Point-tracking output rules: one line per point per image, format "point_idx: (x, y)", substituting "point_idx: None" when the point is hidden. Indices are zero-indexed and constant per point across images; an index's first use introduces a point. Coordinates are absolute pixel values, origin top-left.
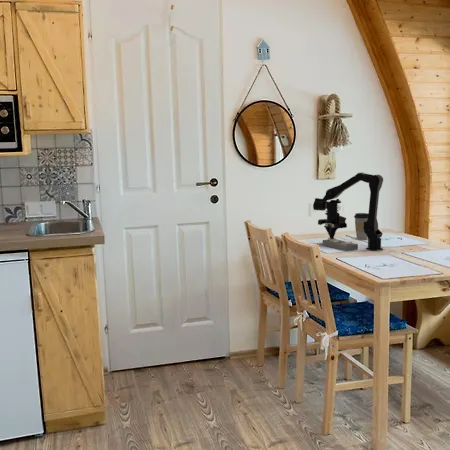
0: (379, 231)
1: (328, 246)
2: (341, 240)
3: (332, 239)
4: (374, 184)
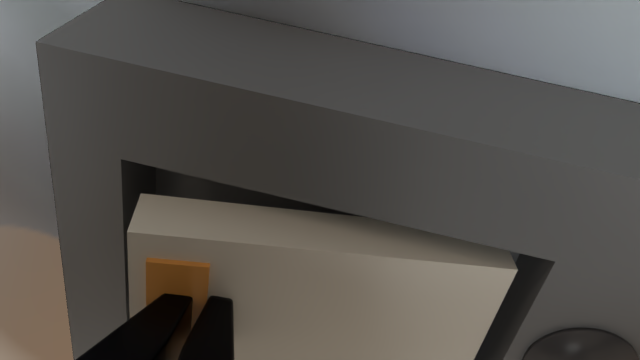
0: None
1: None
2: (464, 144)
3: (277, 348)
4: None
